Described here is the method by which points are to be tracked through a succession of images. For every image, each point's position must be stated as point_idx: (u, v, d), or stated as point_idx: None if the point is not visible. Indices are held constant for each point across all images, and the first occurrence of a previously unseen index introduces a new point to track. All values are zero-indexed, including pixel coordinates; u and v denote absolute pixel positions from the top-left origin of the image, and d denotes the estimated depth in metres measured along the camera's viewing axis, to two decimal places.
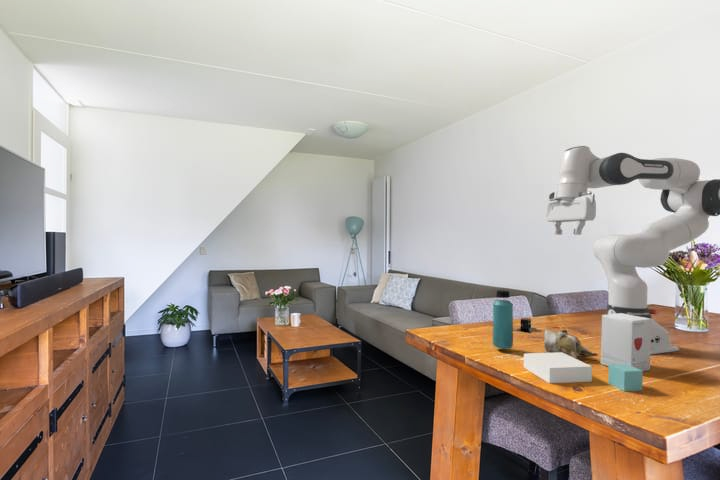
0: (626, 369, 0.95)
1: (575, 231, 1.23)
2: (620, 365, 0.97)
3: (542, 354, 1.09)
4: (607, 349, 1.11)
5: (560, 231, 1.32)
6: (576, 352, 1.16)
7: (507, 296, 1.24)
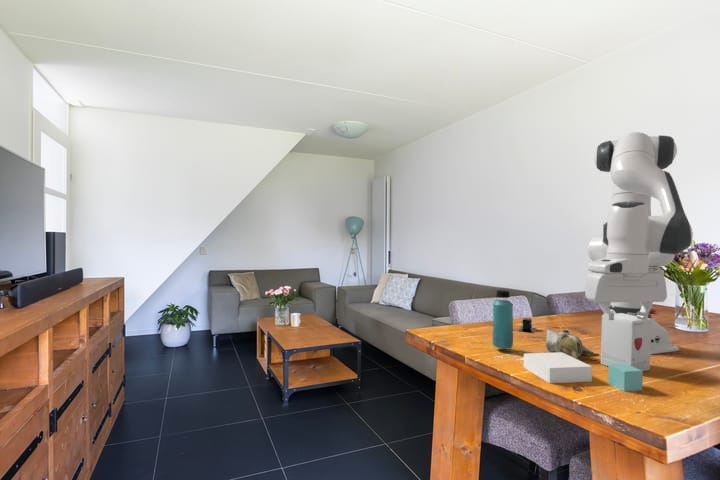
0: (626, 369, 0.95)
1: (646, 316, 0.95)
2: (620, 365, 0.97)
3: (542, 354, 1.09)
4: (607, 349, 1.11)
5: None
6: (577, 352, 1.16)
7: (507, 296, 1.24)
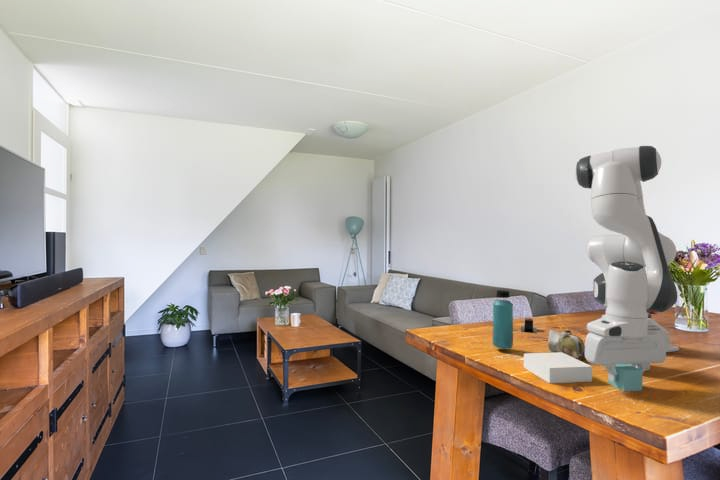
0: (626, 368, 0.95)
1: None
2: (620, 365, 0.97)
3: (542, 354, 1.09)
4: None
5: None
6: (579, 352, 1.16)
7: (507, 296, 1.24)
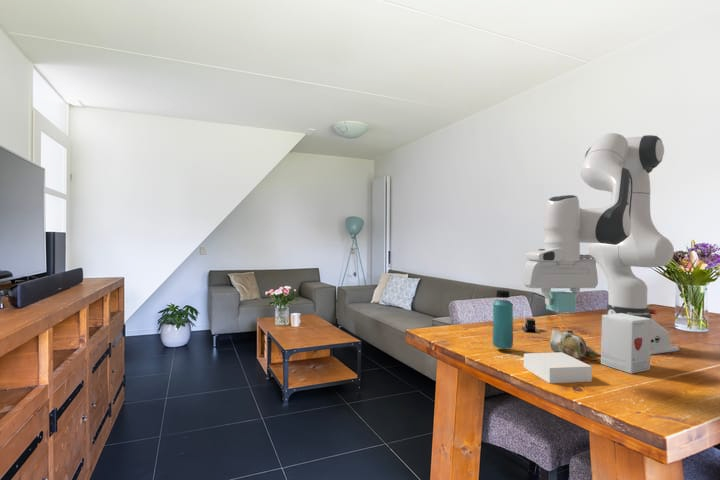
0: (561, 292, 1.02)
1: None
2: (557, 291, 1.05)
3: (542, 354, 1.09)
4: (607, 349, 1.11)
5: None
6: (580, 352, 1.15)
7: (507, 296, 1.24)
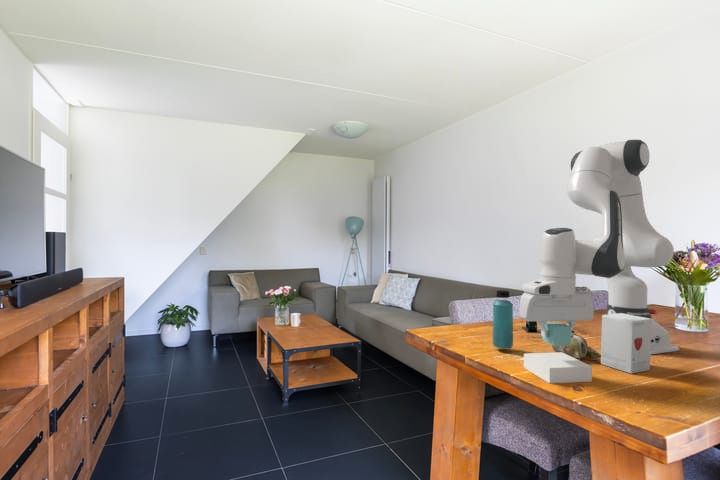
0: (557, 325, 1.03)
1: None
2: (553, 323, 1.06)
3: (542, 354, 1.09)
4: (607, 349, 1.11)
5: None
6: (581, 353, 1.15)
7: (507, 296, 1.24)
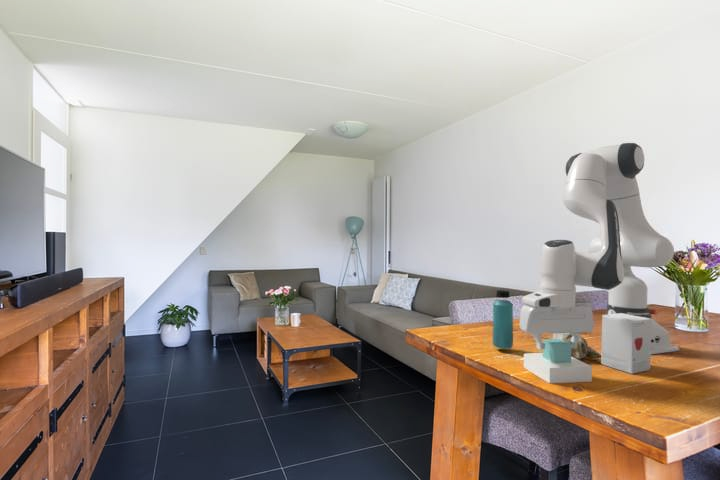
0: (557, 342, 1.03)
1: (575, 345, 1.04)
2: (553, 340, 1.06)
3: (542, 354, 1.09)
4: (608, 349, 1.10)
5: None
6: (582, 353, 1.15)
7: (507, 296, 1.24)
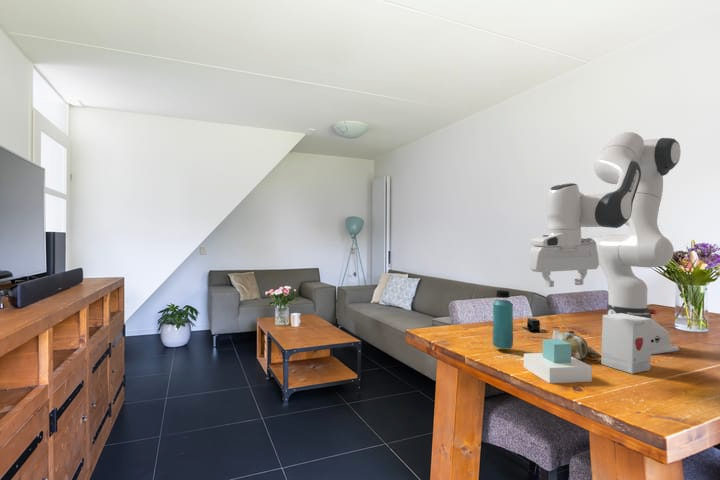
0: (557, 342, 1.03)
1: (581, 282, 1.11)
2: (553, 340, 1.06)
3: (542, 354, 1.09)
4: (608, 350, 1.10)
5: None
6: (582, 353, 1.15)
7: (507, 296, 1.24)
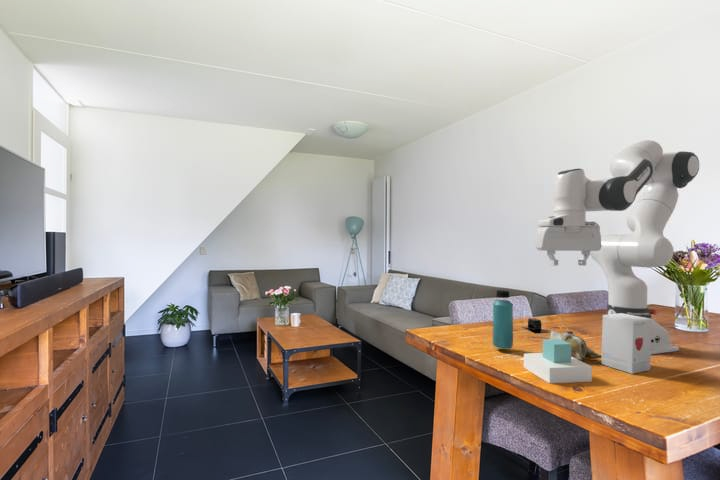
0: (557, 342, 1.03)
1: (584, 262, 1.17)
2: (553, 340, 1.06)
3: (542, 354, 1.09)
4: (608, 350, 1.10)
5: None
6: (581, 353, 1.14)
7: (507, 296, 1.24)
